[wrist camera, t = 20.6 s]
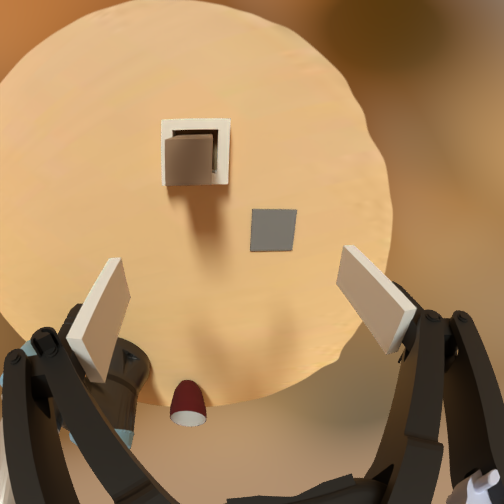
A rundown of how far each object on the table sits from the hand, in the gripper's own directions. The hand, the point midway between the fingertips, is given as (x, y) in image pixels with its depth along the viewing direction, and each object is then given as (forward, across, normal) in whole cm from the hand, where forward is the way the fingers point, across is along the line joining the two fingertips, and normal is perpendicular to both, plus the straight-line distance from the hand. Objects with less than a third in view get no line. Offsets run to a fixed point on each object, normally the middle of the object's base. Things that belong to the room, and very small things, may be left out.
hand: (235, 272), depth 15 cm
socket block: (+26, -3, +5) cm, 27 cm away
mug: (+27, -9, -48) cm, 55 cm away
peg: (+26, -3, +5) cm, 27 cm away
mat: (+26, +8, -8) cm, 29 cm away
